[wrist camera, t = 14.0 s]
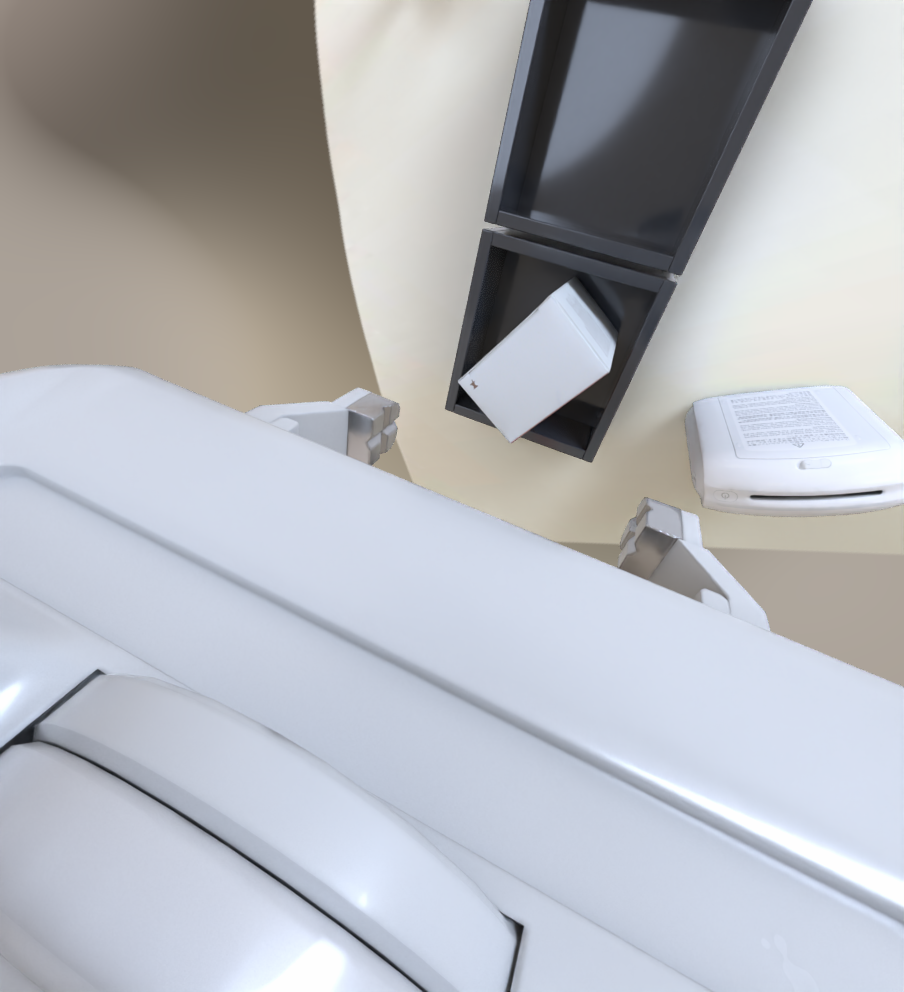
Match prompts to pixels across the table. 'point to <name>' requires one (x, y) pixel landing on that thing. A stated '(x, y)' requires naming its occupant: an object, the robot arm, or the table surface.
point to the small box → (543, 361)
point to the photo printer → (793, 454)
